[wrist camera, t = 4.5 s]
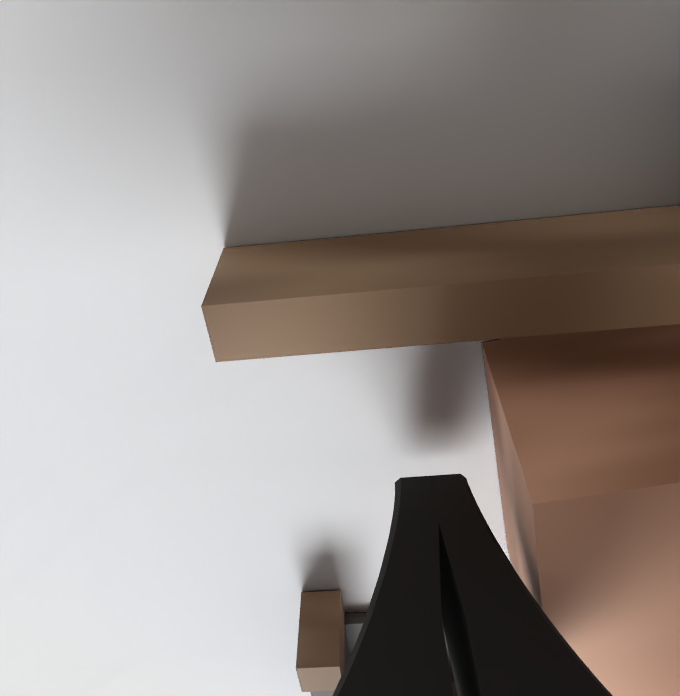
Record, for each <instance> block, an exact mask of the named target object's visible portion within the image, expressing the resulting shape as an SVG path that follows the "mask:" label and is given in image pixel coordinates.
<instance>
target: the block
mask: <svg viewBox="0 0 680 696" xmlns="http://www.w3.org/2000/svg"><path fill="white" fill-rule="evenodd" d="M482 350H483V357H484V365H485V373H486V381H487V389H488V397H489V405H490V413H491V421H492V429H493V437H494V445H495V453H496V461H497V469H498V477H499V485H500V493H501V501H502V509H503V517H504V525H505V533H506V541H507V549H508V553H509V556H510V560H511V564H512V566H513V568H514V569H515V571H516V572H517V574H518V575H519V577H520V578H521V580H522V581H523V583H524V584H525V586H526V587H527V589H528V590H529V592H530V593H531V594H532V596H533V597H534V599H535V600H536V602H537V603H538V604H539V606H540V607H541V609H542V610H543V611H544V613H545V614H546V615H547V617H548V618H549V619H550V621H551V622H552V623H553V625H554V626H555V627H556V629H557V630H558V631H559V633H560V634H561V635H562V636H563V638H564V639H565V640H566V641H567V643H568V644H569V645H570V646H571V648H572V649H573V650H574V651H575V652H576V654H577V655H578V656H579V657H580V659H581V660H582V661H583V662H584V663H585V664H586V666H587V667H588V668H589V669H590V670H591V671H592V673H593V674H594V675H595V676H596V677H597V678H598V680H599V681H600V682H601V683H602V684H603V685H604V687H605V688H606V689H607V690H608V691H609V692H610V693H611V694H612V695H613V696H680V324H674V325H662V326H650V327H637V328H625V329H613V330H601V331H588V332H576V333H564V334H552V335H539V336H527V337H515V338H505V339H500V340H494V341H489V342H483V343H482Z"/></svg>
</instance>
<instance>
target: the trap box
mask: <svg viewBox="0 0 680 696" xmlns="http://www.w3.org/2000/svg"><path fill="white" fill-rule="evenodd" d="M201 307H202V311H203V314H204V318H205V322H206V326H207V330H208V334H209V337H210V341H211V345H212V349H213V353H214V357H215V360H216V362H221V361H233V360H245V359H258V358H270V357H282V356H294V355H307V354H319V353H331V352H343V351H356V350H368V349H380V348H392V347H405V346H417V345H429V344H441V343H454V342H466V341H478V340H490V339H503V338H515V337H527V336H539V335H552V334H564V333H576V332H588V331H601V330H613V329H625V328H637V327H650V326H662V325H674V324H680V205H676V206H666V207H655V208H644V209H634V210H623V211H613V212H602V213H591V214H581V215H570V216H559V217H549V218H538V219H528V220H517V221H506V222H496V223H485V224H474V225H464V226H453V227H443V228H432V229H421V230H411V231H400V232H390V233H379V234H368V235H358V236H347V237H336V238H326V239H315V240H305V241H294V242H283V243H273V244H262V245H251V246H241V247H230V248H224V249H223V251H222V254H221V256H220V259H219V262H218V264H217V267H216V269H215V272H214V275H213V277H212V280H211V282H210V285H209V288H208V290H207V293H206V295H205V298H204V300H203V303H202V306H201ZM366 614H367V613H352V614H344V608H343V602H342V596H341V591H340V590H336V591H318V592H301V606H300V619H299V633H298V647H297V661H296V671H297V675H298V678H299V682H300V686H301V690H302V692H311V696H333V693H334V691H335V689H336V687H337V685H338V682H339V680H340V678H341V676H342V674H343V672H344V669H345V667H346V665H347V663H348V660H349V658H350V655H351V653H352V650H353V648H354V646H355V643H356V641H357V638H358V636H359V633H360V630H361V628H362V625H363V622H364V620H365V617H366ZM444 635H445V633H444ZM445 642H446V637H445ZM446 649H447V656H448V662H449V669H450V676H451V682H452V689H453V695H454V696H458V694H457V689H456V684H455V680H454V675H453V670H452V666H451V661H450V656H449V652H448V647H447V642H446Z"/></svg>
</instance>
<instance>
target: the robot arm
mask: <svg viewBox="0 0 680 696" xmlns="http://www.w3.org/2000/svg"><path fill="white" fill-rule="evenodd" d="M444 633H445V635H444ZM445 637H446V642H447V647H448V652H449V656H450V661H451V666H452V670H453V675H454V680H455V684H456V689H457V694H458V696H613V695H612V694H611V693H610V692H609V691H608V690H607V689H606V688H605V687H604V685H603V684H602V683H601V682H600V681H599V680H598V678H597V677H596V676H595V675H594V674H593V673H592V671H591V670H590V669H589V668H588V667H587V666H586V664H585V663H584V662H583V661H582V660H581V659H580V657H579V656H578V655H577V654H576V652H575V651H574V650H573V649H572V648H571V646H570V645H569V644H568V643H567V641H566V640H565V639H564V638H563V636H562V635H561V634H560V633H559V631H558V630H557V629H556V627H555V626H554V625H553V623H552V622H551V621H550V619H549V618H548V617H547V615H546V614H545V613H544V611H543V610H542V609H541V607H540V606H539V604H538V603H537V602H536V600H535V599H534V597H533V596H532V594H531V593H530V592H529V590H528V589H527V587H526V586H525V584H524V583H523V581H522V580H521V578H520V577H519V575H518V574H517V572H516V571H515V569H514V568H513V566H512V564H511V563H510V561H509V560H508V558H507V556H506V555H505V553H504V552H503V550H502V548H501V547H500V545H499V544H498V542H497V540H496V538H495V537H494V535H493V533H492V531H491V530H490V528H489V526H488V524H487V522H486V520H485V519H484V517H483V515H482V513H481V511H480V509H479V507H478V505H477V503H476V501H475V499H474V497H473V494H472V492H471V490H470V487H469V485H468V482H467V479H466V478H465V477H464V476H463V475H461V474H451V475H436V476H421V477H406V478H400V479H399V480H397V481H396V482H395V502H394V511H393V518H392V523H391V529H390V534H389V539H388V543H387V547H386V551H385V555H384V558H383V562H382V566H381V570H380V574H379V577H378V580H377V583H376V587H375V590H374V593H373V596H372V599H371V602H370V605H369V608H368V611H367V614H366V617H365V620H364V622H363V625H362V628H361V630H360V633H359V636H358V638H357V641H356V643H355V646H354V648H353V650H352V653H351V655H350V658H349V660H348V663H347V665H346V667H345V669H344V672H343V674H342V676H341V678H340V680H339V682H338V685H337V687H336V689H335V691H334V693H333V696H454V695H453V689H452V682H451V676H450V669H449V662H448V656H447V649H446V642H445Z"/></svg>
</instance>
